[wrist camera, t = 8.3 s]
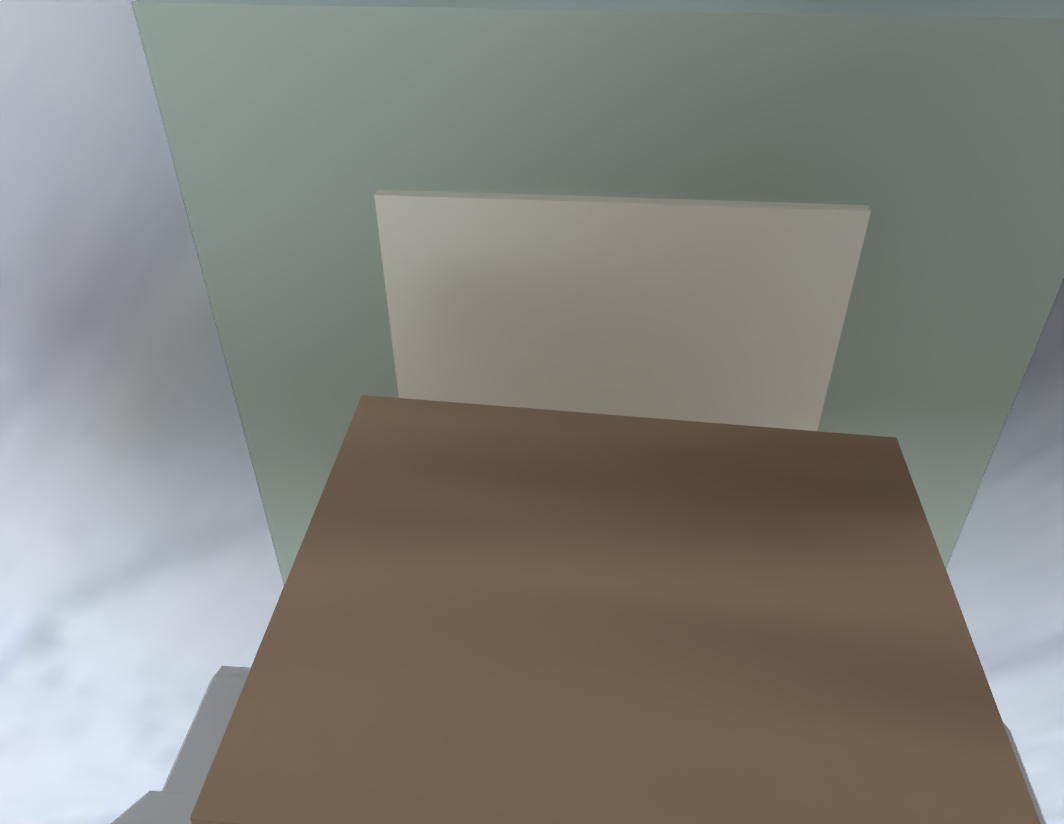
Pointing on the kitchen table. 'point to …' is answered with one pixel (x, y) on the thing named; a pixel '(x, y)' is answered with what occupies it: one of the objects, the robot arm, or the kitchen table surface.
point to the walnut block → (613, 635)
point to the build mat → (621, 215)
